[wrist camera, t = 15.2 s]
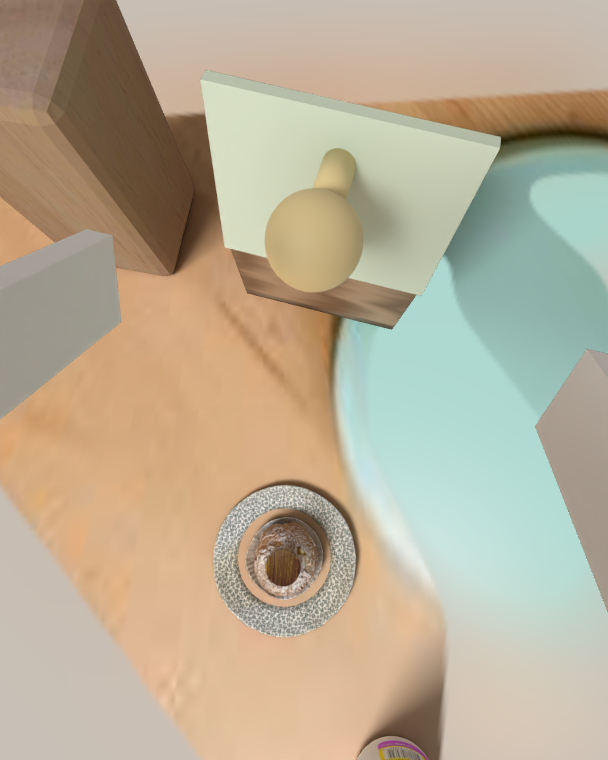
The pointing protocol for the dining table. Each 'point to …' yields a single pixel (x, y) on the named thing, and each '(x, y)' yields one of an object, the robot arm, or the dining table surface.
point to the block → (88, 132)
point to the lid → (338, 184)
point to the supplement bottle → (392, 750)
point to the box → (326, 294)
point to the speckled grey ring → (284, 561)
